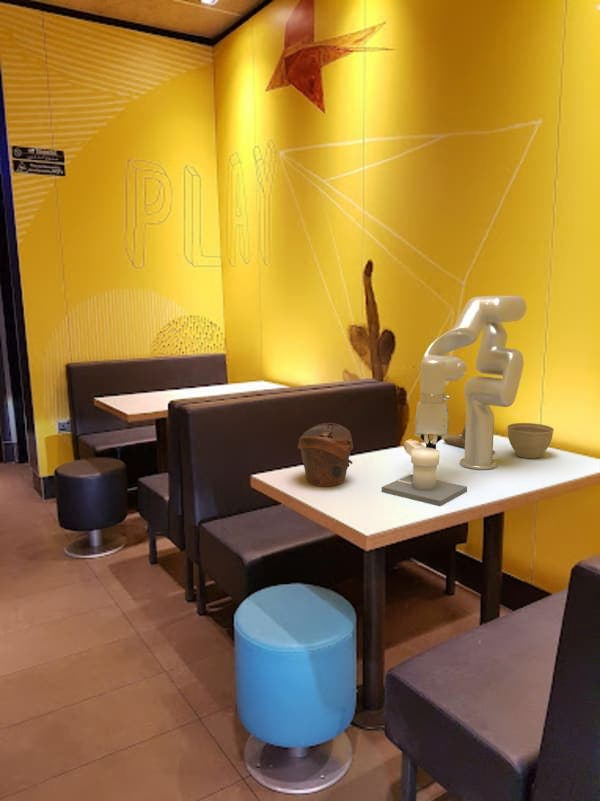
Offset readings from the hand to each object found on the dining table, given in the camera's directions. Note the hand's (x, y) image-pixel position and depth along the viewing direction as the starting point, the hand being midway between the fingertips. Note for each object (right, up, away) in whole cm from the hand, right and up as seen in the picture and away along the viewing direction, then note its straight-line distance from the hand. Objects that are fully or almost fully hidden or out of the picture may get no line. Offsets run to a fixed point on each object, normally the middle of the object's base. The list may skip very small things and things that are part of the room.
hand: (430, 455), depth 188 cm
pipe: (+23, -1, +49) cm, 54 cm away
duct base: (-3, -11, -5) cm, 12 cm away
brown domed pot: (-33, -9, +6) cm, 35 cm away
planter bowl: (+44, -4, +35) cm, 57 cm away
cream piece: (-4, -1, -2) cm, 4 cm away
